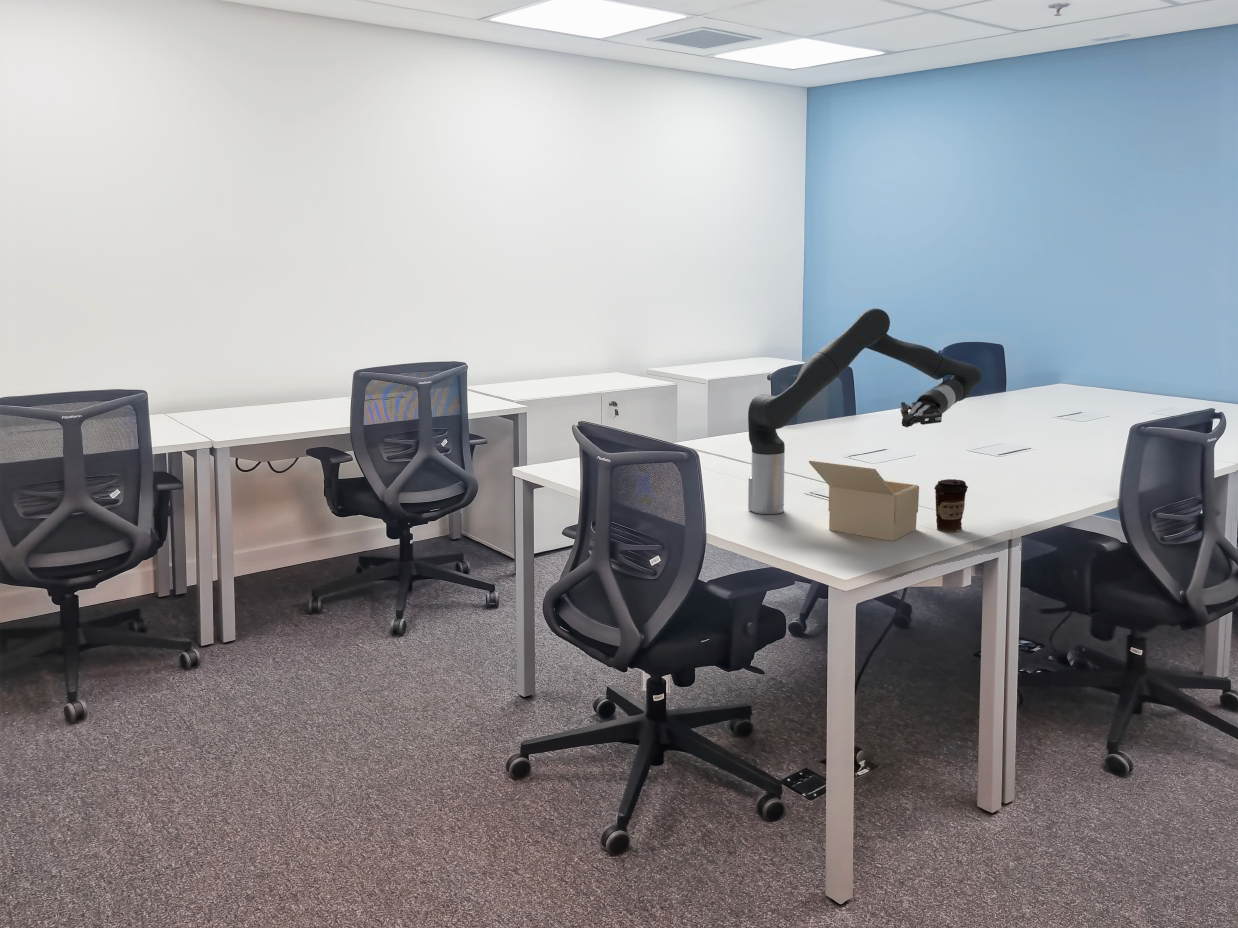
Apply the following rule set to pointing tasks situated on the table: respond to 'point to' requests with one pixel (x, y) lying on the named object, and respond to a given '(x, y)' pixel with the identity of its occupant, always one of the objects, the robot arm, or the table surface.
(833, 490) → the carton
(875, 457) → the table surface
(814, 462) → the lid flap
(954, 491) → the coffee cup
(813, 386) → the robot arm
